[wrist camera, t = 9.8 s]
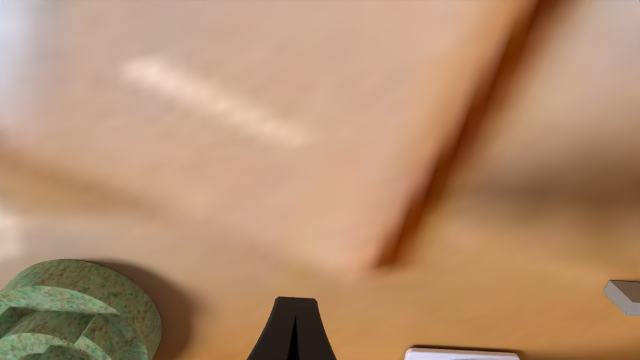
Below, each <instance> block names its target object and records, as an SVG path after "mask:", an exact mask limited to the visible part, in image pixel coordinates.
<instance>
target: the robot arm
mask: <svg viewBox="0 0 640 360" xmlns="http://www.w3.org/2000/svg"><path fill="white" fill-rule="evenodd" d="M247 360H336V357H335V355H334V353H333V350H332V348H331V346H330V343H329V341H328V338H327V335H326V333H325V330H324V327H323V324H322V321H321V317H320V314H319V309H318V304H317V301H316V300H315V299H313V298H295V297H278V298H276V299H275V303H274V306H273V309H272V312H271V314H270V317H269V319H268V321H267V323H266V326H265V328H264V330H263V332H262V334H261V335H260V337H259V339H258V341H257V343H256V345H255V347H254V348H253V350H252V352H251V353H250V355H249V357H248V358H247ZM404 360H520V359H519V357H518V355H517V354H515V353H504V352H485V351H465V350H446V349H427V348H410V349H409V350H407V352H406V355H405V359H404Z"/></svg>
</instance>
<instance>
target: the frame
mask: <svg viewBox="0 0 640 360" xmlns="http://www.w3.org/2000/svg"><path fill="white" fill-rule="evenodd" d="M603 293H604V294H605V295H606V296H607V297H608V298H609V299H610V300H611V301H612V302H613V303H614V304H615V305H616V306H617V307H618V308H619V309H620V310H621V311H622V312H623V313H624V314H625V315H630V316H640V282H627V281H611V280H609V282H608V284H607V286H606V288H605V290H604V292H603Z"/></svg>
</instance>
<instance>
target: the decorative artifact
mask: <svg viewBox="0 0 640 360" xmlns="http://www.w3.org/2000/svg"><path fill="white" fill-rule="evenodd" d="M161 337H162V323H161V318H160V315H159V312H158V310H157V308H156V306H155V305H154V303H153V301H152V300H151V299H150V297H149V296H148V295H147V294H146V293H145V292H144V291H143V290H142V289H141V288H140V287H139V286H138V285H137V284H135V283H134V282H133V281H131V280H130V279H128V278H127V277H125V276H124V275H122V274H120V273H118V272H116V271H114V270H112V269H110V268H107V267H105V266H102V265H99V264H95V263H91V262H87V261H81V260H72V259H59V260H50V261H45V262H41V263H38V264H35V265H33V266H30V267H29V268H27V269H25V270H24V271H22V272H21V273H19V274H18V275H17V276H16V277H15V278H14V279H13V280H12V281H11V282H10V283H8V284H7V285H6V286H5V287H4V288H3V289H2V290H1V291H0V360H152V359H153V357H154V355H155V353H156V351H157V348H158V346H159V344H160V341H161Z"/></svg>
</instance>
